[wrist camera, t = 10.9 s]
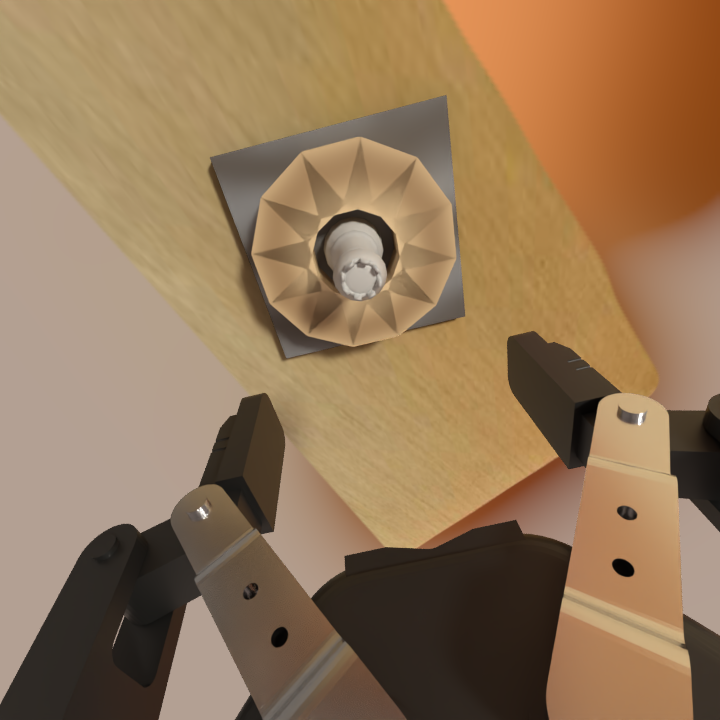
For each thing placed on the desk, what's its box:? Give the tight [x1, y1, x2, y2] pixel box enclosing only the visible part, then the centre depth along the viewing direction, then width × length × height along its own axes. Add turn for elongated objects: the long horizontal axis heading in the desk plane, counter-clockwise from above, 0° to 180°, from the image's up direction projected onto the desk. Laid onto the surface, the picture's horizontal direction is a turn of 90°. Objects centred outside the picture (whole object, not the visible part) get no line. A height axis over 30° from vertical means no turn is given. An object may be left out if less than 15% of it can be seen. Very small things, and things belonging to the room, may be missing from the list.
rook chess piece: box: [324, 217, 387, 302], centre depth 25 cm, size 4×4×8 cm
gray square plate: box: [210, 95, 465, 358], centre depth 28 cm, size 16×16×4 cm
